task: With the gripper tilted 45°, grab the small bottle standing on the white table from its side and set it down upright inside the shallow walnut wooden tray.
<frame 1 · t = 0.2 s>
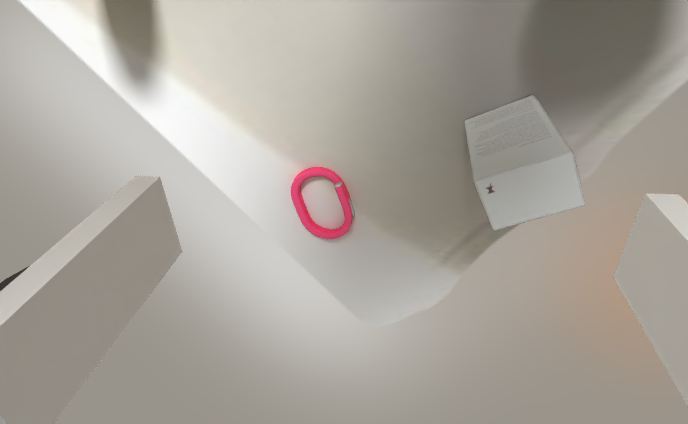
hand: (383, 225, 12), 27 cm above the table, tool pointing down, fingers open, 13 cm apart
fitness band: (324, 199, 45), on the table
skincare box: (505, 127, 38), on the table
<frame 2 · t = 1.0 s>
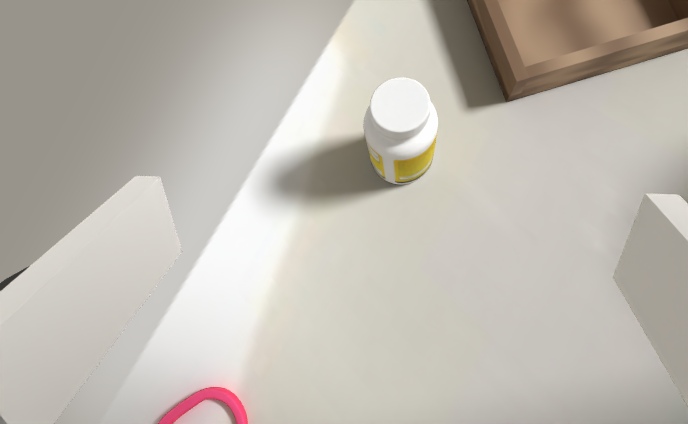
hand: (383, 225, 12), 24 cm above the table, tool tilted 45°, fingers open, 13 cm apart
supplement bottle: (401, 156, 38), on the table
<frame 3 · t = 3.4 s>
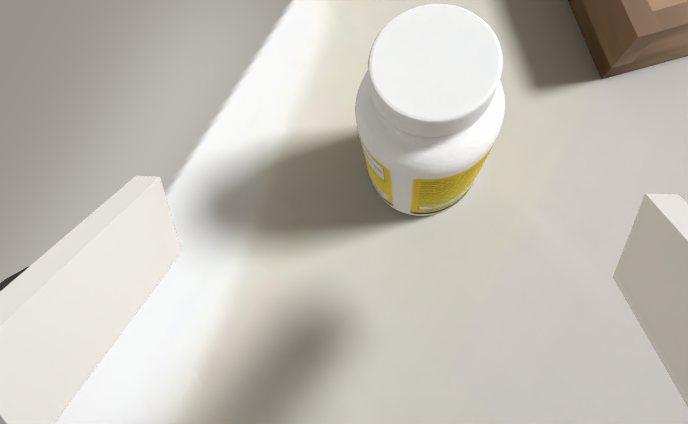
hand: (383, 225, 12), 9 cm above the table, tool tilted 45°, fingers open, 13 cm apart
supplement bottle: (420, 167, 22), on the table
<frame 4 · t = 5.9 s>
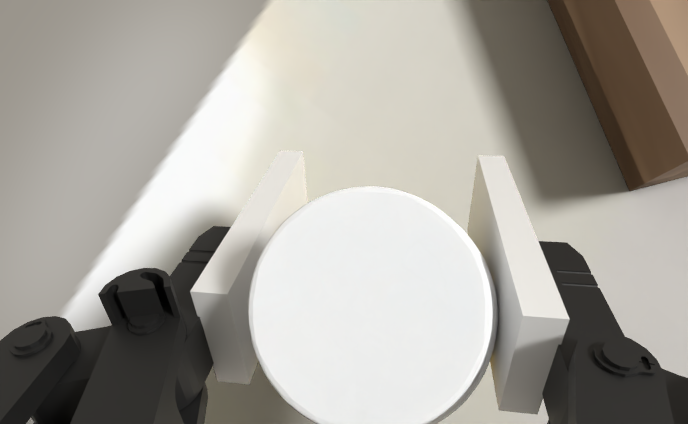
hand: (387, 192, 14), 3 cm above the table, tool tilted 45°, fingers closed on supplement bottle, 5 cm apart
supplement bottle: (384, 309, 17), on the table, touching gripper
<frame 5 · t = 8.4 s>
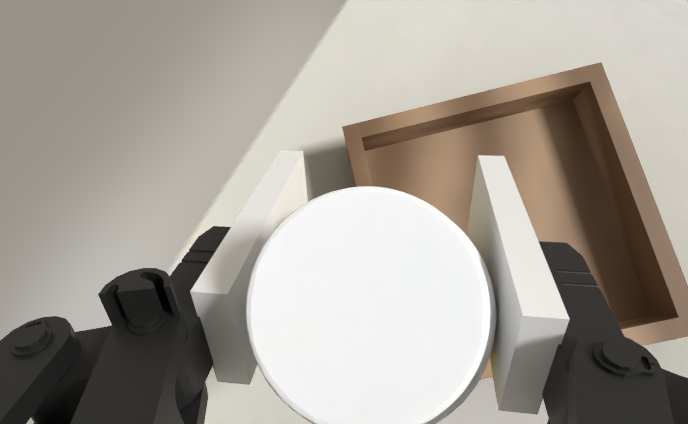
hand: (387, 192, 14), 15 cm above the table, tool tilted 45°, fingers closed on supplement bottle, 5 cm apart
supplement bottle: (384, 309, 16), point 12 cm above the table, touching gripper
walnut tray: (493, 229, 28), on the table
when the fingers open (5 cm above the table, at t = 11.1 s): supplement bottle stays where it is, resting on walnut tray.
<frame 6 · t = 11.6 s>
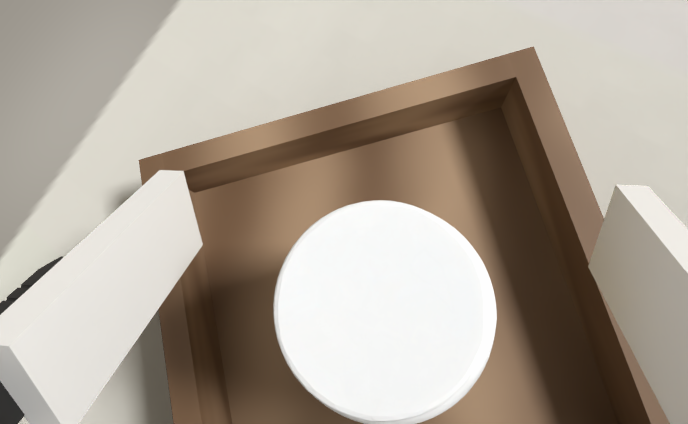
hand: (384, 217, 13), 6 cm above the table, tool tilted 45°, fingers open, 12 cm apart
supplement bottle: (390, 310, 17), point 1 cm above the table, touching walnut tray
walnut tray: (386, 309, 18), on the table
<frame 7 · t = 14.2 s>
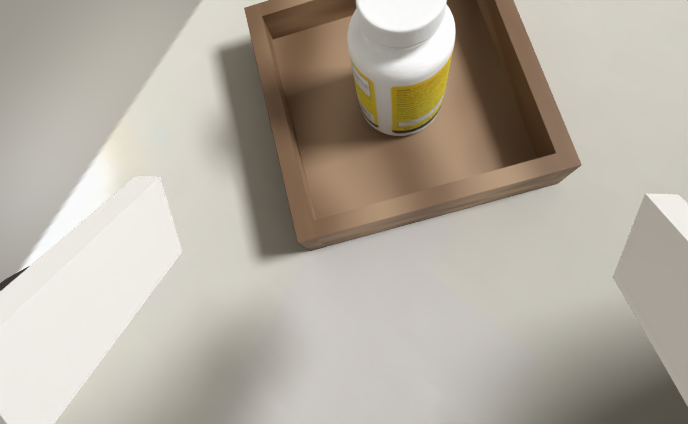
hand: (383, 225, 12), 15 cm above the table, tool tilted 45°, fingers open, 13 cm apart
supplement bottle: (400, 100, 28), point 1 cm above the table, touching walnut tray
walnut tray: (397, 105, 29), on the table
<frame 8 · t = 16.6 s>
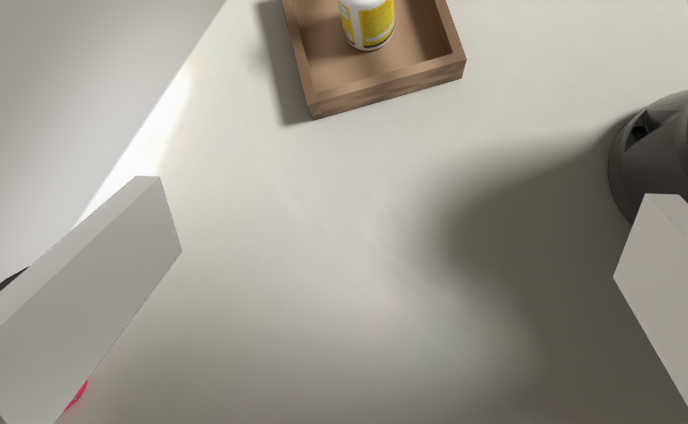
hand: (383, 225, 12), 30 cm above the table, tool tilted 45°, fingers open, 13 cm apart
supplement bottle: (369, 31, 46), point 1 cm above the table, touching walnut tray
walnut tray: (367, 35, 47), on the table
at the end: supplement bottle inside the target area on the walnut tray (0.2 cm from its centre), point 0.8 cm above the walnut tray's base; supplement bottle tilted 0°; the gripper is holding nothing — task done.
